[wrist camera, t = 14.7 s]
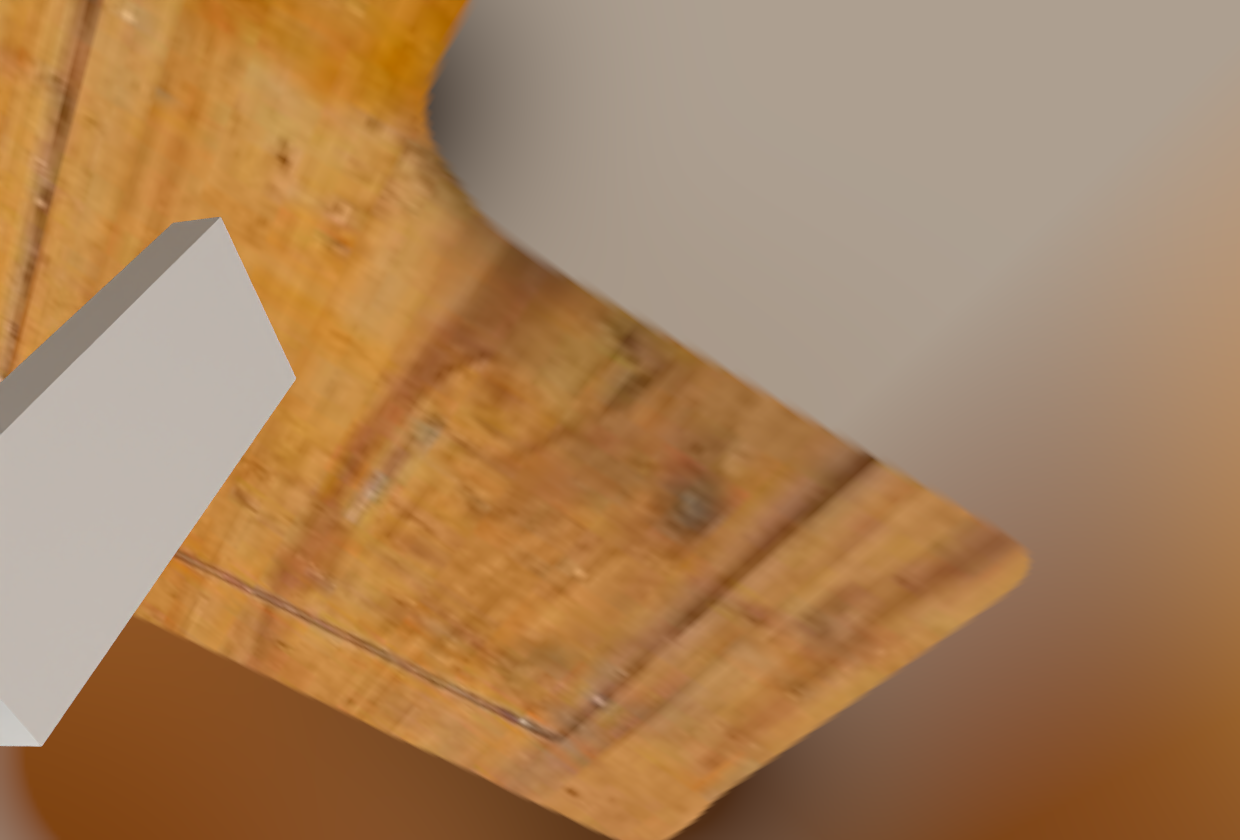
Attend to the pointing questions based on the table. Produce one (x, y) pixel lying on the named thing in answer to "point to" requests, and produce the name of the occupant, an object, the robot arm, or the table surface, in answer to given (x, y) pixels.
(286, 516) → the table surface
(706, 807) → the table surface
